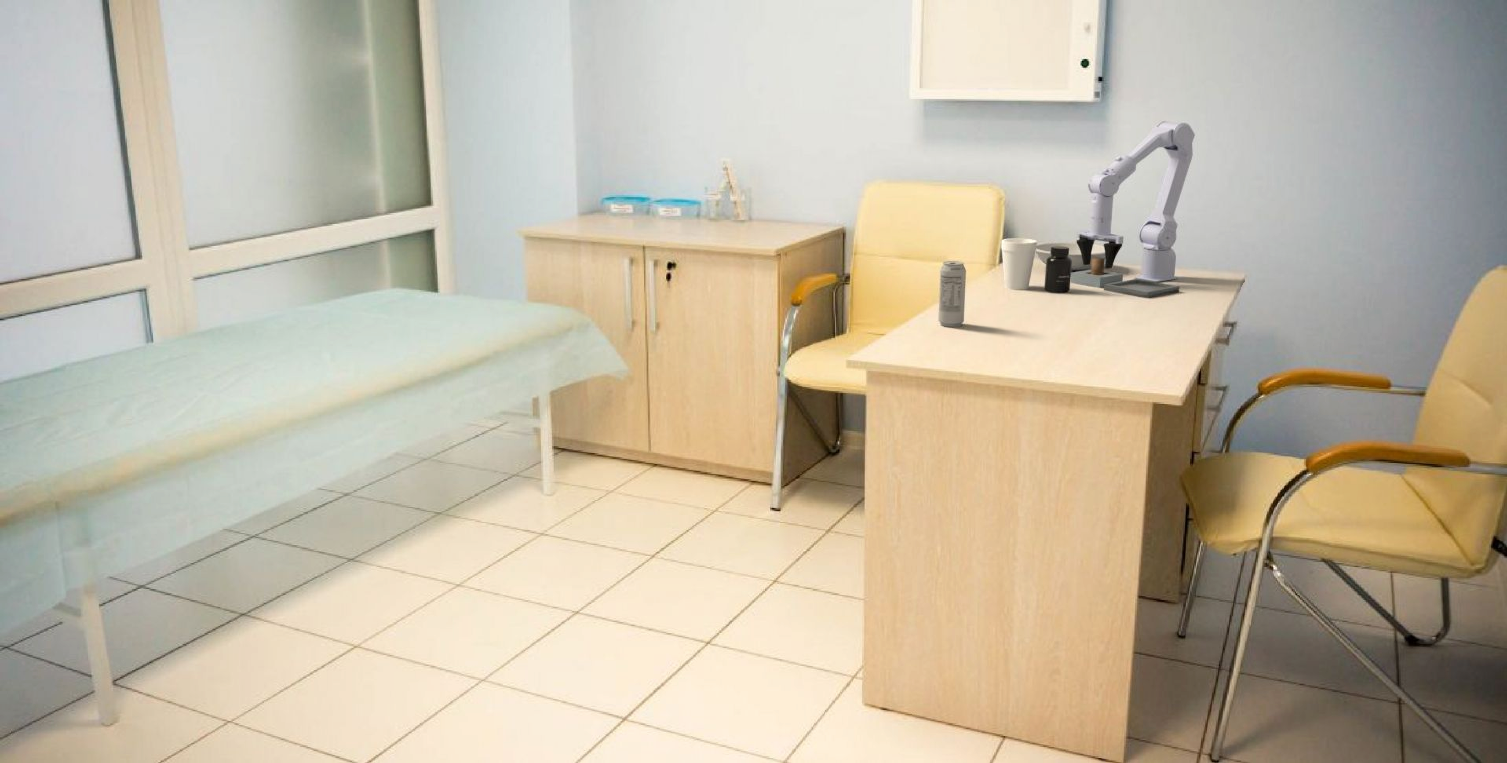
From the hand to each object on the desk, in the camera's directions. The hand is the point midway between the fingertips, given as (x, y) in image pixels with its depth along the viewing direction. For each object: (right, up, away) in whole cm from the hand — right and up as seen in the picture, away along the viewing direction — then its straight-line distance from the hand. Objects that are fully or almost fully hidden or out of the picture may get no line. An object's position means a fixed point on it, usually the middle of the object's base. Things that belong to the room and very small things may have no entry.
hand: (1097, 266), depth 349 cm
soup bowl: (-2, +1, +23) cm, 23 cm away
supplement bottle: (-14, -8, -10) cm, 19 cm away
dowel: (0, -5, +1) cm, 5 cm away
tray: (+9, -8, -10) cm, 16 cm away
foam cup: (-24, -7, -5) cm, 25 cm away
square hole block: (0, -5, +1) cm, 5 cm away
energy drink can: (-49, -19, -51) cm, 73 cm away
